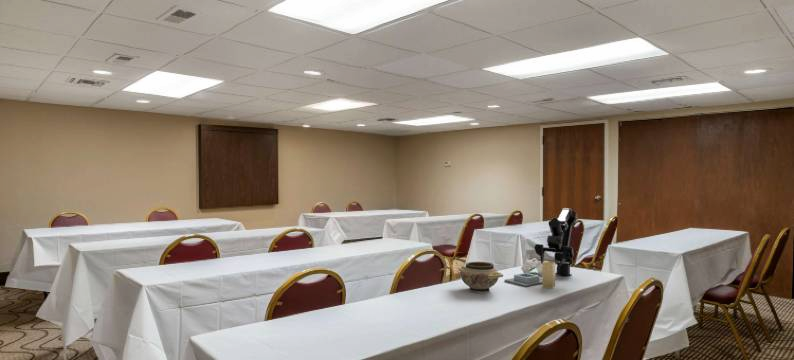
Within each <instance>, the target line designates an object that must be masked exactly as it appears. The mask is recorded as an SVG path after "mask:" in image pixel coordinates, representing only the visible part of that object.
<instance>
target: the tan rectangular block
mask: <svg viewBox="0 0 794 360" xmlns="http://www.w3.org/2000/svg"><path fill="white" fill-rule="evenodd" d="M555 273H556V264H555V260H554V261H552V260H543V265H542V275H541V276H542V278H541V279H542V284H541V287H542V288H544V287H545V288H547V289H554V288H555V287H556V274H555ZM545 288H544V289H545Z"/></svg>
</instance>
